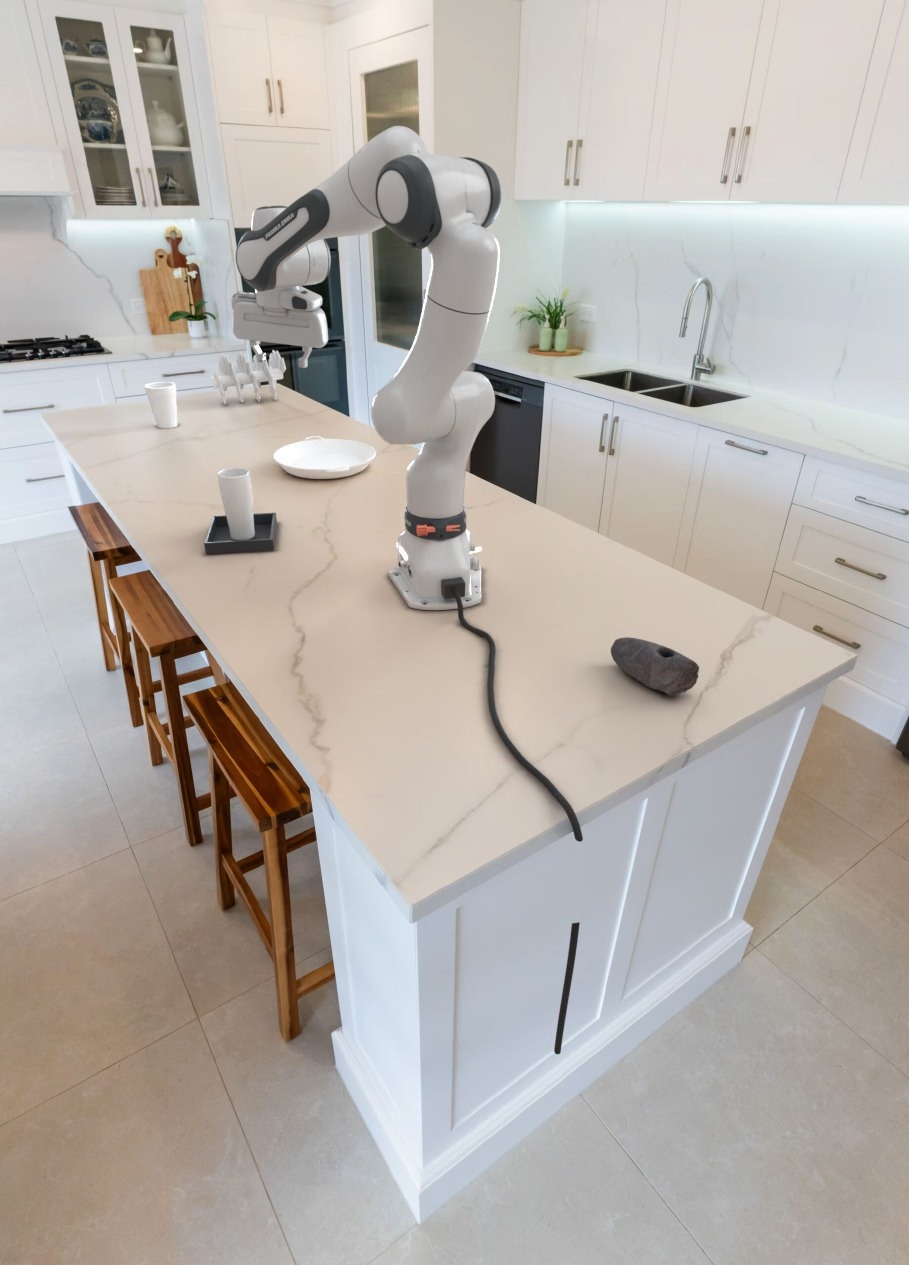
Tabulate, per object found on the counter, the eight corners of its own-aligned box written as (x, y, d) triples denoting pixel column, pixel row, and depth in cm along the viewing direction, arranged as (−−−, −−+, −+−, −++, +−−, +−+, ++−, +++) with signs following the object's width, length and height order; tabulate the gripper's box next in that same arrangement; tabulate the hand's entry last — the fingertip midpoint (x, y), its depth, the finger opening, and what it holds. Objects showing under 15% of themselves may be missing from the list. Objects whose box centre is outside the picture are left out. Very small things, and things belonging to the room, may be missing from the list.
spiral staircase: (217, 413, 272) (283, 403, 281) (222, 402, 256) (292, 391, 265) (203, 363, 269) (270, 354, 279) (208, 348, 253) (279, 340, 262)
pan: (392, 480, 199) (391, 464, 197) (286, 492, 190) (285, 476, 188) (359, 445, 226) (358, 431, 223) (265, 455, 217) (263, 440, 214)
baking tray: (274, 550, 159) (272, 539, 157) (206, 554, 157) (204, 543, 155) (277, 523, 172) (275, 512, 171) (214, 526, 170) (212, 515, 169)
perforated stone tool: (599, 666, 121) (604, 630, 117) (620, 655, 124) (625, 620, 120) (676, 709, 111) (684, 671, 108) (696, 696, 114) (705, 658, 110)
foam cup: (153, 423, 245) (145, 382, 239) (182, 421, 248) (175, 381, 241) (152, 430, 238) (144, 389, 231) (182, 428, 240) (175, 387, 233)
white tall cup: (250, 544, 161) (241, 478, 153) (222, 542, 162) (211, 476, 154) (263, 533, 167) (255, 468, 159) (235, 530, 168) (226, 466, 160)
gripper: (223, 292, 150) (230, 362, 158) (319, 303, 148) (321, 373, 156) (237, 287, 156) (243, 355, 163) (329, 297, 153) (331, 366, 161)
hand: (282, 364), depth 159 cm, fingers open, 8 cm apart
